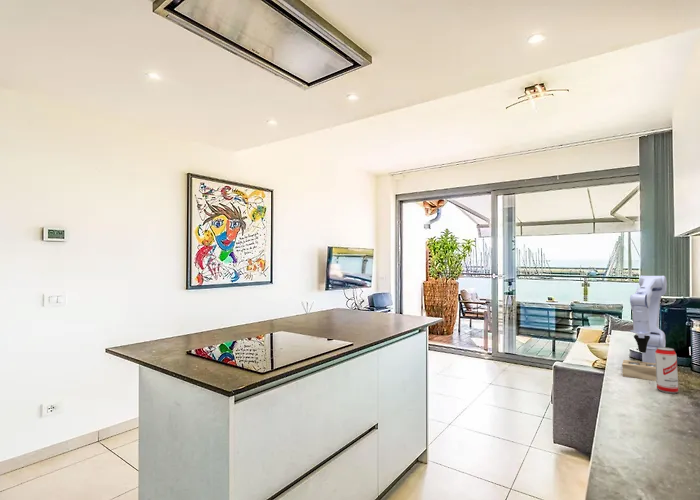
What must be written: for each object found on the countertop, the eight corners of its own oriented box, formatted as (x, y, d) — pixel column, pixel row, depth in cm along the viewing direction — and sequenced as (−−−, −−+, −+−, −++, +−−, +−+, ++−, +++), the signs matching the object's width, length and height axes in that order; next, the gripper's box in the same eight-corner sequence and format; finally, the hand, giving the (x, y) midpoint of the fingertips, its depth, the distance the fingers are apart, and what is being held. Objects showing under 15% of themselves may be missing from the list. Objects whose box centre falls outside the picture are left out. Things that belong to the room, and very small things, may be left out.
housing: (624, 370, 171) (623, 359, 171) (661, 375, 163) (660, 363, 163) (622, 376, 162) (622, 364, 162) (661, 381, 154) (661, 369, 154)
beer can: (683, 394, 139) (680, 350, 140) (666, 394, 139) (663, 350, 140) (669, 388, 145) (666, 346, 146) (652, 388, 145) (650, 346, 146)
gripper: (630, 318, 175) (632, 348, 174) (629, 322, 164) (630, 354, 163) (649, 319, 170) (651, 350, 170) (649, 323, 159) (651, 356, 158)
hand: (642, 352), depth 166 cm, fingers closed
